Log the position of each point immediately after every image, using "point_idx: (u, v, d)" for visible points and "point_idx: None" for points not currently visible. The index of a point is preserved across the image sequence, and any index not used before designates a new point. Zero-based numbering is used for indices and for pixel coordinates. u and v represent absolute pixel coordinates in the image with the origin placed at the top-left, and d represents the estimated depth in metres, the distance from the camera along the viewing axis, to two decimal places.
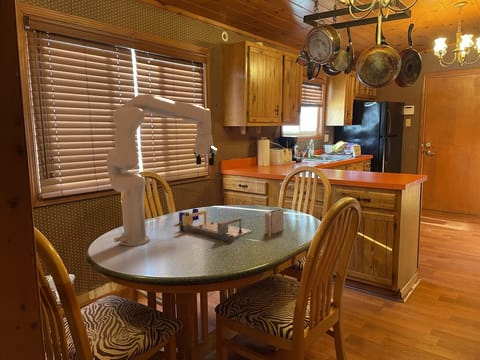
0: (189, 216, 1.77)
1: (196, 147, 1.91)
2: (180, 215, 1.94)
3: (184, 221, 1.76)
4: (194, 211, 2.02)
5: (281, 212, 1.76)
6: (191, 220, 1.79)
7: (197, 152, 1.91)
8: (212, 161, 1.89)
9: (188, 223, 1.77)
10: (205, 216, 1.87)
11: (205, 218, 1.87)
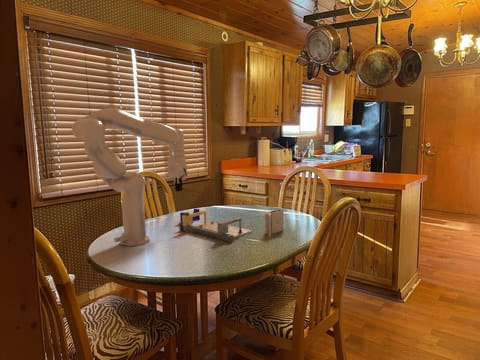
0: (189, 216, 1.77)
1: (169, 170, 1.79)
2: (181, 215, 1.94)
3: (184, 221, 1.76)
4: (195, 211, 2.02)
5: (281, 212, 1.76)
6: (191, 220, 1.79)
7: (170, 175, 1.79)
8: (180, 187, 1.79)
9: (188, 223, 1.77)
10: (205, 216, 1.87)
11: (205, 218, 1.87)
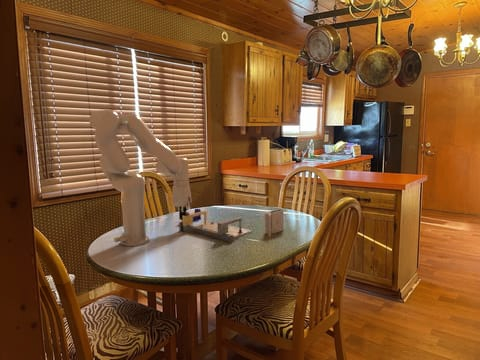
0: (189, 216, 1.77)
1: (173, 198, 1.79)
2: None
3: (184, 221, 1.76)
4: (196, 211, 2.02)
5: (281, 212, 1.76)
6: (191, 220, 1.79)
7: (174, 204, 1.79)
8: None
9: (188, 223, 1.77)
10: (205, 216, 1.87)
11: (205, 218, 1.87)
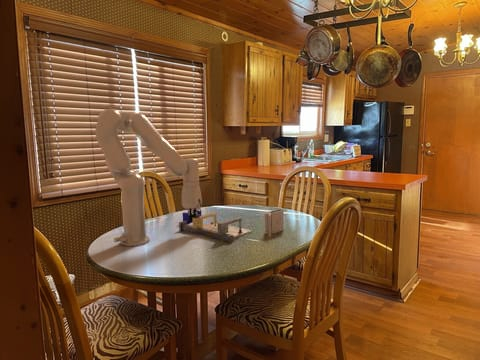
0: (199, 218, 1.73)
1: (183, 200, 1.74)
2: (184, 215, 1.93)
3: (194, 223, 1.72)
4: (197, 211, 2.01)
5: (281, 212, 1.76)
6: (201, 222, 1.74)
7: (184, 205, 1.74)
8: None
9: (198, 225, 1.72)
10: (215, 218, 1.82)
11: (215, 220, 1.82)
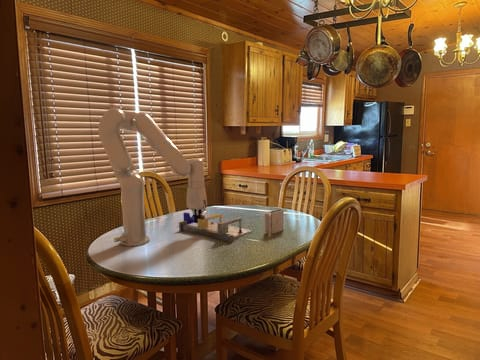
0: (205, 219, 1.70)
1: (188, 201, 1.72)
2: (185, 215, 1.93)
3: (199, 225, 1.69)
4: None
5: (281, 212, 1.76)
6: (207, 223, 1.71)
7: (189, 206, 1.72)
8: None
9: (204, 227, 1.70)
10: (220, 219, 1.80)
11: (220, 221, 1.80)
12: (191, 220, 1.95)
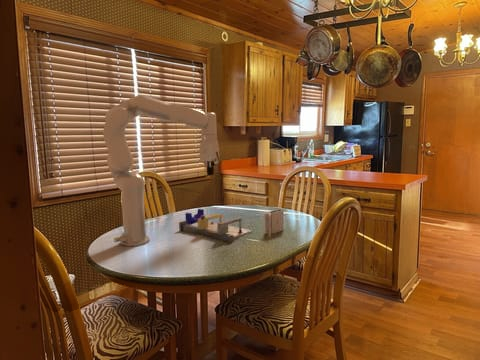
0: (205, 219, 1.70)
1: (201, 153, 1.79)
2: (187, 216, 1.92)
3: (200, 225, 1.69)
4: (199, 211, 2.01)
5: (281, 212, 1.76)
6: (207, 223, 1.71)
7: (202, 159, 1.79)
8: (212, 170, 1.80)
9: (204, 227, 1.70)
10: (220, 219, 1.80)
11: (220, 221, 1.80)
12: (193, 220, 1.94)
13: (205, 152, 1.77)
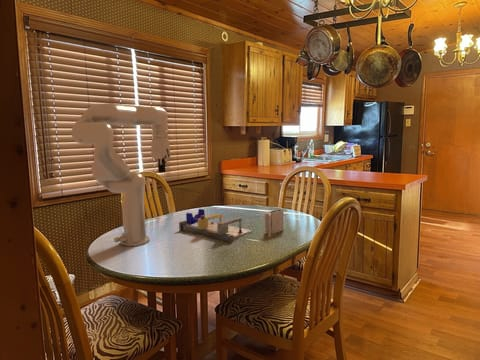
0: (205, 219, 1.70)
1: (152, 151, 1.80)
2: (187, 216, 1.92)
3: (200, 225, 1.69)
4: (200, 211, 2.01)
5: (281, 212, 1.76)
6: (207, 223, 1.71)
7: (153, 156, 1.80)
8: (163, 168, 1.80)
9: (204, 227, 1.70)
10: (220, 219, 1.80)
11: (220, 221, 1.80)
12: (194, 220, 1.94)
13: (156, 149, 1.78)
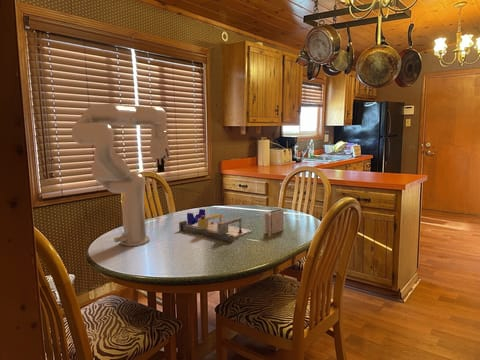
0: (205, 219, 1.70)
1: (151, 151, 1.80)
2: (188, 216, 1.92)
3: (200, 225, 1.69)
4: (201, 212, 2.00)
5: (281, 212, 1.76)
6: (207, 223, 1.71)
7: (152, 156, 1.80)
8: (162, 168, 1.80)
9: (204, 227, 1.70)
10: (220, 219, 1.80)
11: (220, 221, 1.80)
12: (195, 220, 1.94)
13: (155, 149, 1.77)
